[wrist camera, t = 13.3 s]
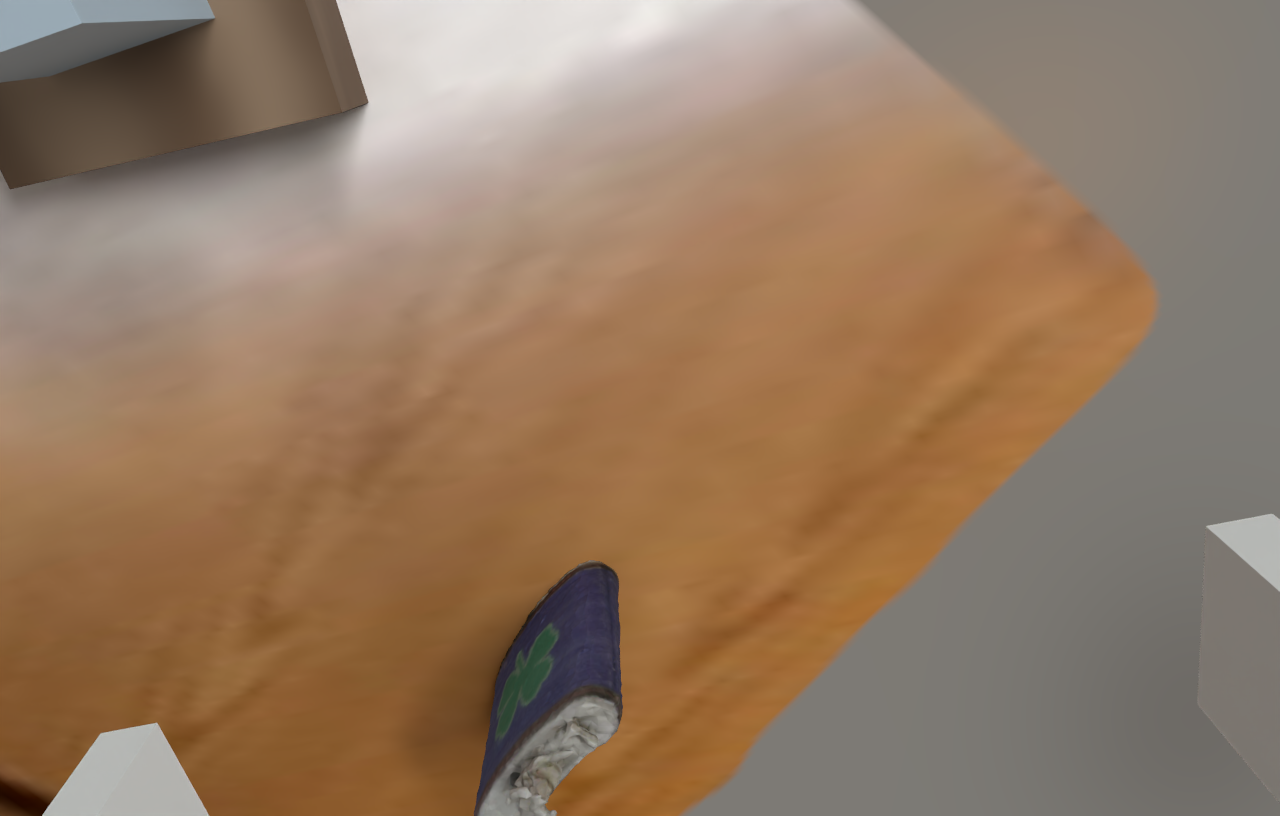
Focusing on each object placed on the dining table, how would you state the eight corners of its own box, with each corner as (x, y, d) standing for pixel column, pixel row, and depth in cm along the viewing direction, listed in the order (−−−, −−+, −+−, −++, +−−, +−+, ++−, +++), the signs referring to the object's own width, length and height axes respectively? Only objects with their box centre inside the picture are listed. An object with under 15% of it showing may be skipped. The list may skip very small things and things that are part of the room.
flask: (530, 705, 46) (505, 895, 36) (479, 679, 45) (440, 866, 35) (632, 575, 43) (636, 744, 33) (580, 546, 42) (567, 709, 32)
